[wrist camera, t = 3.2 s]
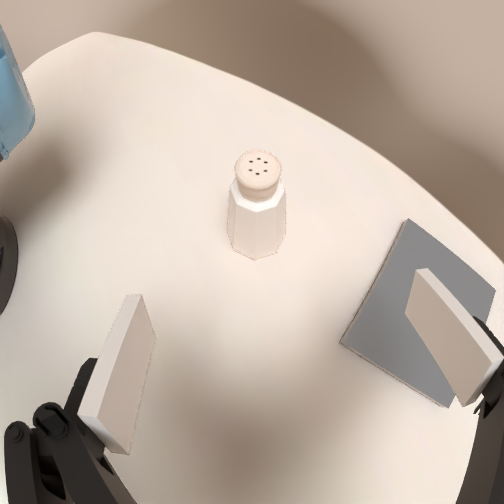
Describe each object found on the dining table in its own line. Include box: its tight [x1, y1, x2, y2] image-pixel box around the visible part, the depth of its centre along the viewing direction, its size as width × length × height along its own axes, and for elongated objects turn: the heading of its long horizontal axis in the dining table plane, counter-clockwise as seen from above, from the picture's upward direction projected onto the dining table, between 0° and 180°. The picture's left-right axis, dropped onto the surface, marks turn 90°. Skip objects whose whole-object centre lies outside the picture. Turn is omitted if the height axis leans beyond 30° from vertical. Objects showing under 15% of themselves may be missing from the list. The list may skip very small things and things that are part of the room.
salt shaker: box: [227, 150, 286, 260], centre depth 23 cm, size 5×5×11 cm
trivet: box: [339, 218, 496, 408], centre depth 25 cm, size 14×14×1 cm
